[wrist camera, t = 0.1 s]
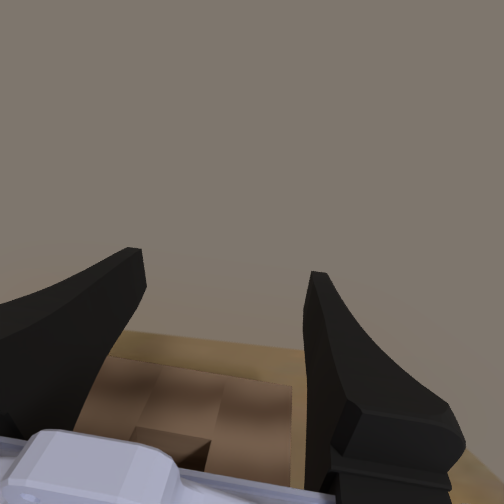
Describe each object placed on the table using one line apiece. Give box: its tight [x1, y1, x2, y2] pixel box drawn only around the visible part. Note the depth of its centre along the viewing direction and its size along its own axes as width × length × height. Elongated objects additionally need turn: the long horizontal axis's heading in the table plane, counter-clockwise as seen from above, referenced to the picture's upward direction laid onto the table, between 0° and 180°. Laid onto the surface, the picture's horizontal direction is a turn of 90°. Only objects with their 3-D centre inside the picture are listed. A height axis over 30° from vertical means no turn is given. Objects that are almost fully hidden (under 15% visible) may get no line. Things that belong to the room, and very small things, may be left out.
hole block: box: [73, 356, 292, 487], centre depth 23 cm, size 18×18×5 cm
